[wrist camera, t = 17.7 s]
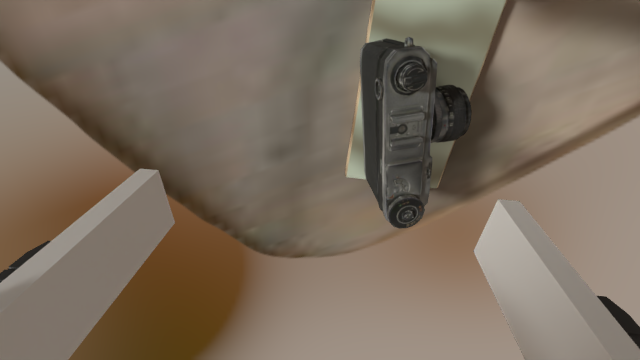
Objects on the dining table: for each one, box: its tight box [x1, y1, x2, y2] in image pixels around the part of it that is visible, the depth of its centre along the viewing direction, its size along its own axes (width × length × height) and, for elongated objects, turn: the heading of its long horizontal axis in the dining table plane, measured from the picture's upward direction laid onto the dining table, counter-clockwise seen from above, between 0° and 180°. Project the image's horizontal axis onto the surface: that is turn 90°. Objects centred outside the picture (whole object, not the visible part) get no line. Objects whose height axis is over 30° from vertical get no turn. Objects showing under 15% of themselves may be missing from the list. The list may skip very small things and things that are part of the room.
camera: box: [360, 37, 471, 228], centre depth 28 cm, size 18×9×10 cm, turn 8°
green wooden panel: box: [345, 0, 507, 188], centre depth 24 cm, size 25×12×18 cm, turn 175°
